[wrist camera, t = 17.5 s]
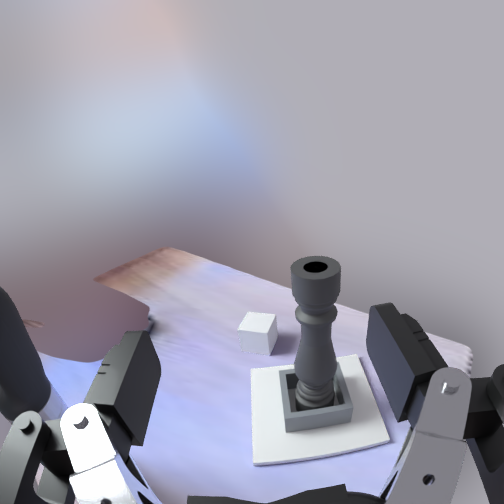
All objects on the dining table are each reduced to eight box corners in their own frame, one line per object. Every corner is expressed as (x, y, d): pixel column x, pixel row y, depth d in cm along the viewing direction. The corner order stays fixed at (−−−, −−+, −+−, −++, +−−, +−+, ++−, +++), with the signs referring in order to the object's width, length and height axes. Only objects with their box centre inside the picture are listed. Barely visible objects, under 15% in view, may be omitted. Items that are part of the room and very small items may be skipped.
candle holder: (338, 413, 41) (352, 274, 31) (300, 423, 41) (296, 285, 31) (326, 386, 47) (330, 251, 37) (291, 395, 47) (282, 260, 36)
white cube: (270, 356, 58) (267, 333, 55) (241, 352, 60) (237, 329, 57) (278, 337, 63) (275, 314, 60) (251, 333, 65) (247, 311, 62)
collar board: (253, 465, 36) (249, 451, 34) (251, 372, 54) (247, 353, 52) (388, 442, 35) (395, 425, 33) (356, 357, 53) (358, 338, 51)
